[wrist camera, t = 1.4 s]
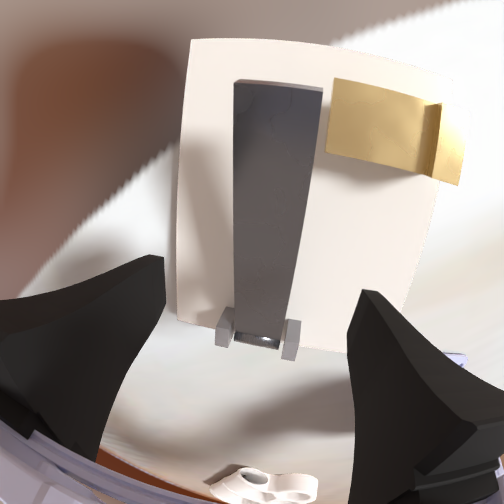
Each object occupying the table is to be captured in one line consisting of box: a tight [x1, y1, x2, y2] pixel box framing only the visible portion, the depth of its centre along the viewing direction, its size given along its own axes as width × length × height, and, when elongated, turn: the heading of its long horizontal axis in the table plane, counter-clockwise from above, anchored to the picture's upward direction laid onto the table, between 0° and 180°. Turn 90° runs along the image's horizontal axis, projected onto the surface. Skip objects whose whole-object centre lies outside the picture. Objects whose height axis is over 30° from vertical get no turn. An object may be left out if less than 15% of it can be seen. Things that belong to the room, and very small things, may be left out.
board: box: [176, 38, 453, 361], centre depth 17 cm, size 20×16×4 cm
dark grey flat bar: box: [233, 79, 323, 350], centre depth 15 cm, size 16×3×1 cm, turn 174°
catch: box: [324, 77, 469, 186], centre depth 13 cm, size 4×6×4 cm, turn 84°
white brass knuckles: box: [209, 467, 318, 504], centre depth 34 cm, size 3×18×15 cm
